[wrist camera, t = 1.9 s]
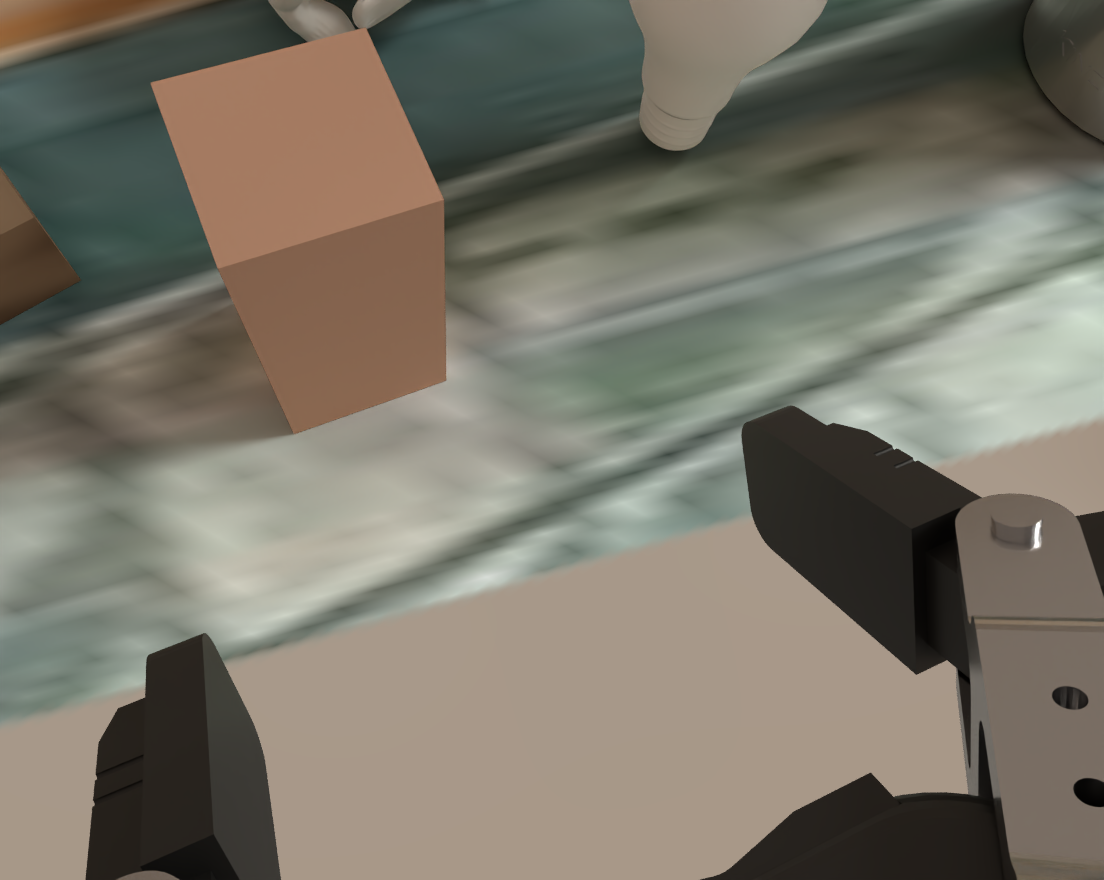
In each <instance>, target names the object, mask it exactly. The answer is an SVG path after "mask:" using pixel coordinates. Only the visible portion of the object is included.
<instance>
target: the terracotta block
mask: <svg viewBox="0 0 1104 880" xmlns="http://www.w3.org/2000/svg"><path fill="white" fill-rule="evenodd" d="M151 86H152V89H153V92H154V94H155V97H156V100H157V103H158V105H159V108H160V111H161V114H162V116H163V119H164V122H165V125H166V127H167V130H168V133H169V136H170V138H171V141H172V144H173V147H174V149H175V152H176V155H177V158H178V160H179V163H180V166H181V169H182V171H183V174H184V177H185V180H186V182H187V185H188V188H189V191H190V193H191V196H192V199H193V202H194V204H195V207H196V210H197V213H198V215H199V218H200V221H201V224H202V226H203V229H204V232H205V235H206V237H207V240H208V243H209V246H210V249H211V251H212V254H213V257H214V260H215V262H216V265H217V268H218V270H219V272H220V275H221V277H222V279H223V281H224V283H225V285H226V288H227V290H228V292H229V294H230V296H231V298H232V301H233V303H234V305H235V307H236V309H237V311H238V314H239V316H240V318H241V320H242V322H243V325H244V327H245V329H246V331H247V333H248V335H249V338H250V340H251V342H252V344H253V346H254V348H255V351H256V353H257V355H258V357H259V359H260V361H261V364H262V366H263V368H264V370H265V372H266V375H267V377H268V379H269V381H270V383H271V385H272V388H273V390H274V392H275V394H276V396H277V398H278V401H279V403H280V405H281V407H282V409H283V411H284V414H285V416H286V418H287V420H288V422H289V424H290V427H291V429H292V431H293V433H294V434H296V433H299V432H302V431H305V430H307V429H310V428H313V427H316V426H319V425H322V424H324V423H327V422H330V421H333V420H336V419H339V418H341V417H344V416H347V415H350V414H353V413H356V412H358V411H361V410H364V409H367V408H370V407H373V406H375V405H378V404H381V403H384V402H387V401H390V400H392V399H395V398H398V397H401V396H404V395H407V394H409V393H412V392H415V391H418V390H421V389H424V388H426V387H429V386H432V385H435V384H438V383H441V382H444V381H446V322H445V243H444V199H443V196H442V194H441V192H440V190H439V188H438V185H437V183H436V181H435V179H434V177H433V174H432V172H431V170H430V168H429V166H428V163H427V161H426V159H425V157H424V155H423V152H422V150H421V148H420V146H419V144H418V141H417V139H416V137H415V135H414V133H413V130H412V128H411V126H410V124H409V122H408V119H407V117H406V115H405V113H404V111H403V108H402V106H401V104H400V102H399V100H398V97H397V95H396V93H395V91H394V89H393V86H392V84H391V82H390V80H389V77H388V75H387V73H386V71H385V69H384V66H383V64H382V62H381V60H380V58H379V55H378V53H377V51H376V49H375V47H374V44H373V42H372V40H371V38H370V36H369V33H368V31H367V29H366V27H365V28H361V29H357V30H354V31H350V32H346V33H342V34H338V35H334V36H330V37H326V38H322V39H319V40H315V41H311V42H307V43H303V44H299V45H295V46H291V47H287V48H284V49H280V50H276V51H272V52H268V53H264V54H260V55H256V56H252V57H249V58H245V59H241V60H237V61H233V62H229V63H225V64H221V65H217V66H214V67H210V68H206V69H202V70H198V71H194V72H190V73H186V74H182V75H179V76H175V77H171V78H167V79H163V80H159V81H155V82H151Z"/></svg>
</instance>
